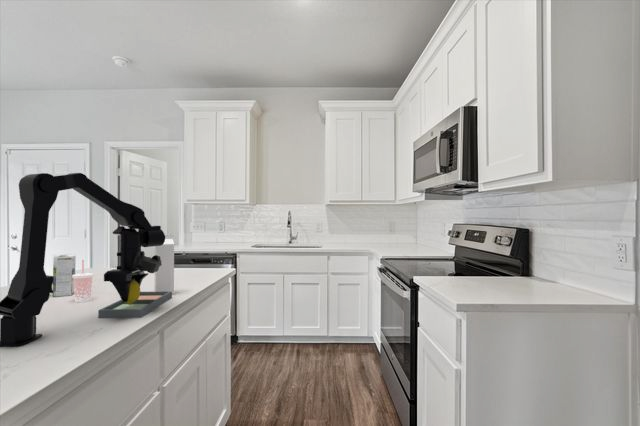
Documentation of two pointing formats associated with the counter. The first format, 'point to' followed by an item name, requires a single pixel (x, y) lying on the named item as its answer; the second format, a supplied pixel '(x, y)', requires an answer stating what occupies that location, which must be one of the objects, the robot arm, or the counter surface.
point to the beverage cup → (82, 285)
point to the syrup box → (63, 275)
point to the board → (135, 306)
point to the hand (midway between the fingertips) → (130, 299)
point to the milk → (165, 266)
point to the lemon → (133, 292)
